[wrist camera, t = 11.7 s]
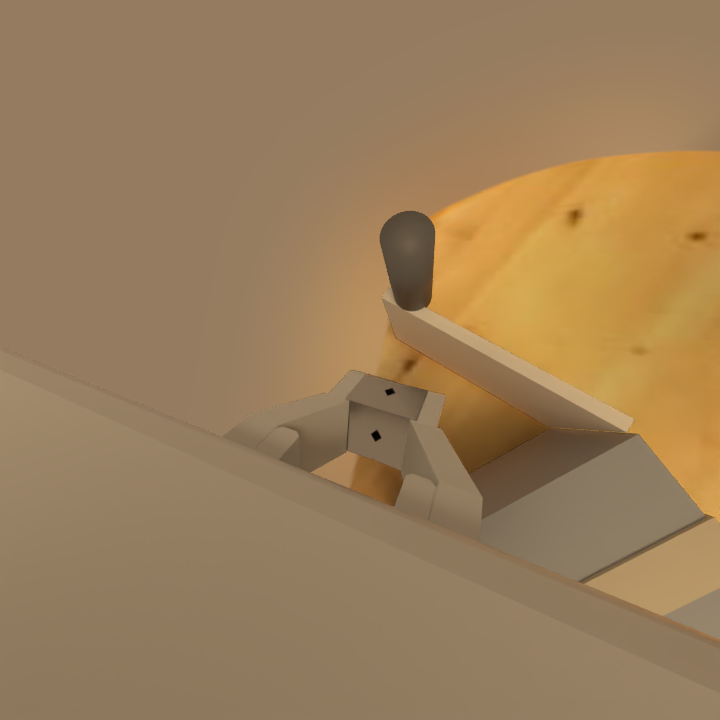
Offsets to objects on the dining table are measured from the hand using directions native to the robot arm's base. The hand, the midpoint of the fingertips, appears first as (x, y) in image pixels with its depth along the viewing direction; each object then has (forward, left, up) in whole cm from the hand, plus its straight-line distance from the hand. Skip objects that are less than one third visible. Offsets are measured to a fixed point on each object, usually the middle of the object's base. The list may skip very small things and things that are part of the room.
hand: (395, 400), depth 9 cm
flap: (-8, -1, -27) cm, 28 cm away
